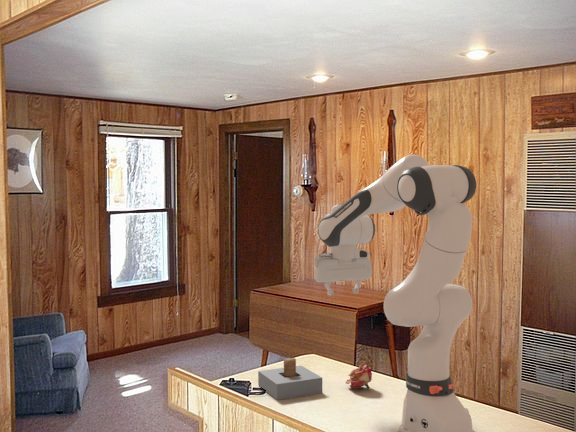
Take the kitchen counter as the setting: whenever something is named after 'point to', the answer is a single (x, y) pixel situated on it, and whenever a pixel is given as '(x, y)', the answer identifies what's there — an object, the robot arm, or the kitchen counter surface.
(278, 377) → the socket block
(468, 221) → the robot arm
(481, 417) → the kitchen counter surface
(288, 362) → the peg
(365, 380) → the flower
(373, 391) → the kitchen counter surface
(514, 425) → the kitchen counter surface
